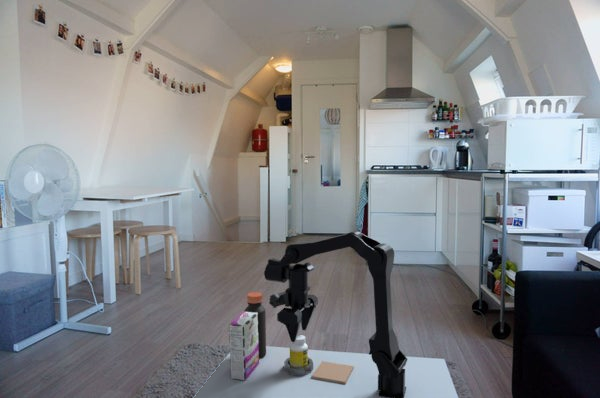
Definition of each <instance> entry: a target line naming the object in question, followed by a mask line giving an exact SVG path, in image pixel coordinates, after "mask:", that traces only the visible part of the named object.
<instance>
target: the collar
mask: <svg viewBox="0 0 600 398" xmlns="http://www.w3.org/2000/svg"><path fill="white" fill-rule="evenodd" d="M283 361H284V363H283V365H284V366H283V367H284V372H285V373H286V374H288V375H289V376H295V377H300V376H306V375H308V374H311V373H312V372H313V370H314V362H313V359H312V358H310V357H308V365H307V366H305V367H298V368H297V367H292V366H290V357H288V358H286V359H285V360H283Z"/></svg>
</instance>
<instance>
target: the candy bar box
mask: <svg viewBox="0 0 600 398" xmlns="http://www.w3.org/2000/svg"><path fill="white" fill-rule="evenodd" d="M228 335H229V337H228V338H229V339H228V340H229V359H230V360H229V362H230V368H229V369H230V379H231V380H235V381H237V380H238V381H244V382H245V381H247V379H248V378H249V377H250V376H251V374H252V373H253V372H254V371H255V370H256V368H257V367H258V365H259V364H260V359H259V339H258V313H256V312H245V311H243V312H242V313H241V314H239V315H238V316H237V317H236V318H235V319H233V321H231V322H229V324H228Z"/></svg>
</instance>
